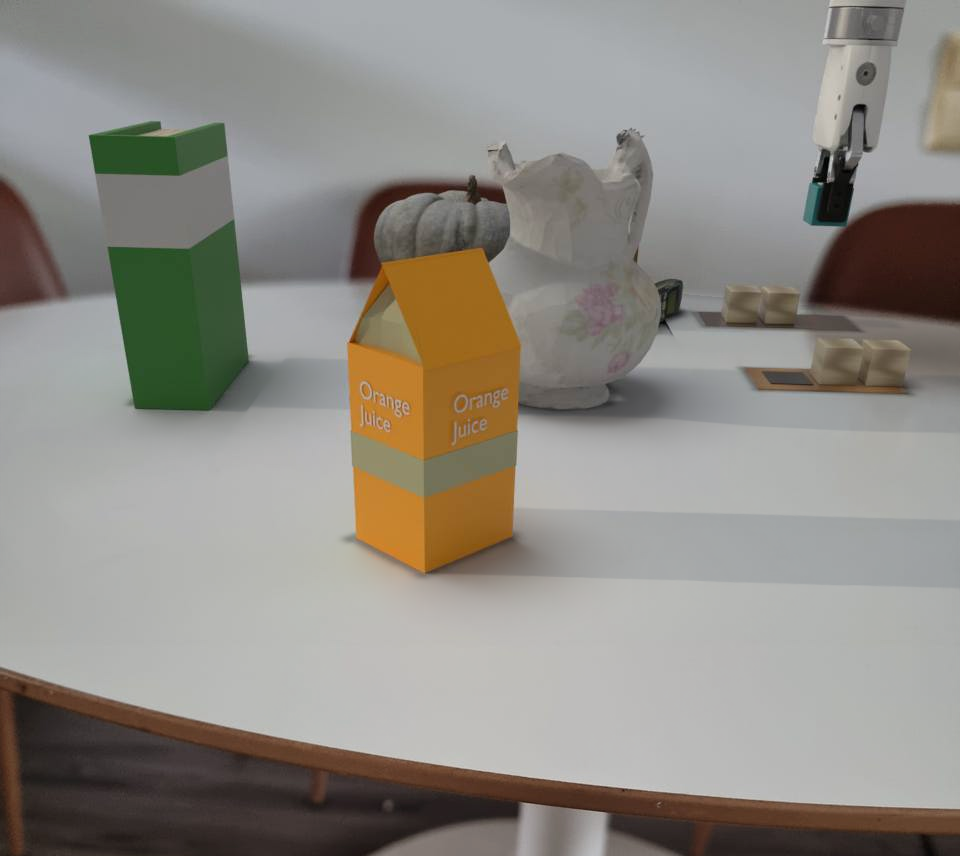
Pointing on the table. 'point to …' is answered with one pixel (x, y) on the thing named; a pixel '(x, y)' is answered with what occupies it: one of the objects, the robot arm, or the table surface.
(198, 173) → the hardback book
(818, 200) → the teal block
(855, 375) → the right board
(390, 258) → the gourd
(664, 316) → the mobile phone
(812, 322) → the left board
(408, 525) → the orange juice
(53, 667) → the table surface
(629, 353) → the ceramic pitcher
